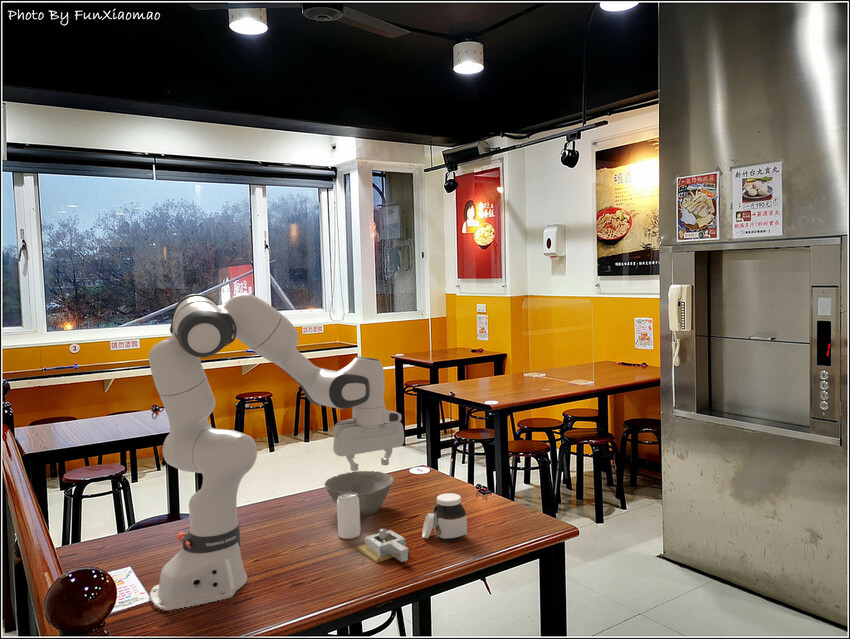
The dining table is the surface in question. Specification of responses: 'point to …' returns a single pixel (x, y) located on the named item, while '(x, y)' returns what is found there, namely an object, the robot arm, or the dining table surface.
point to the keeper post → (370, 554)
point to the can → (348, 515)
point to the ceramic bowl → (362, 488)
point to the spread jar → (447, 519)
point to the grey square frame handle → (388, 546)
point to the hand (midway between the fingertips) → (369, 467)
